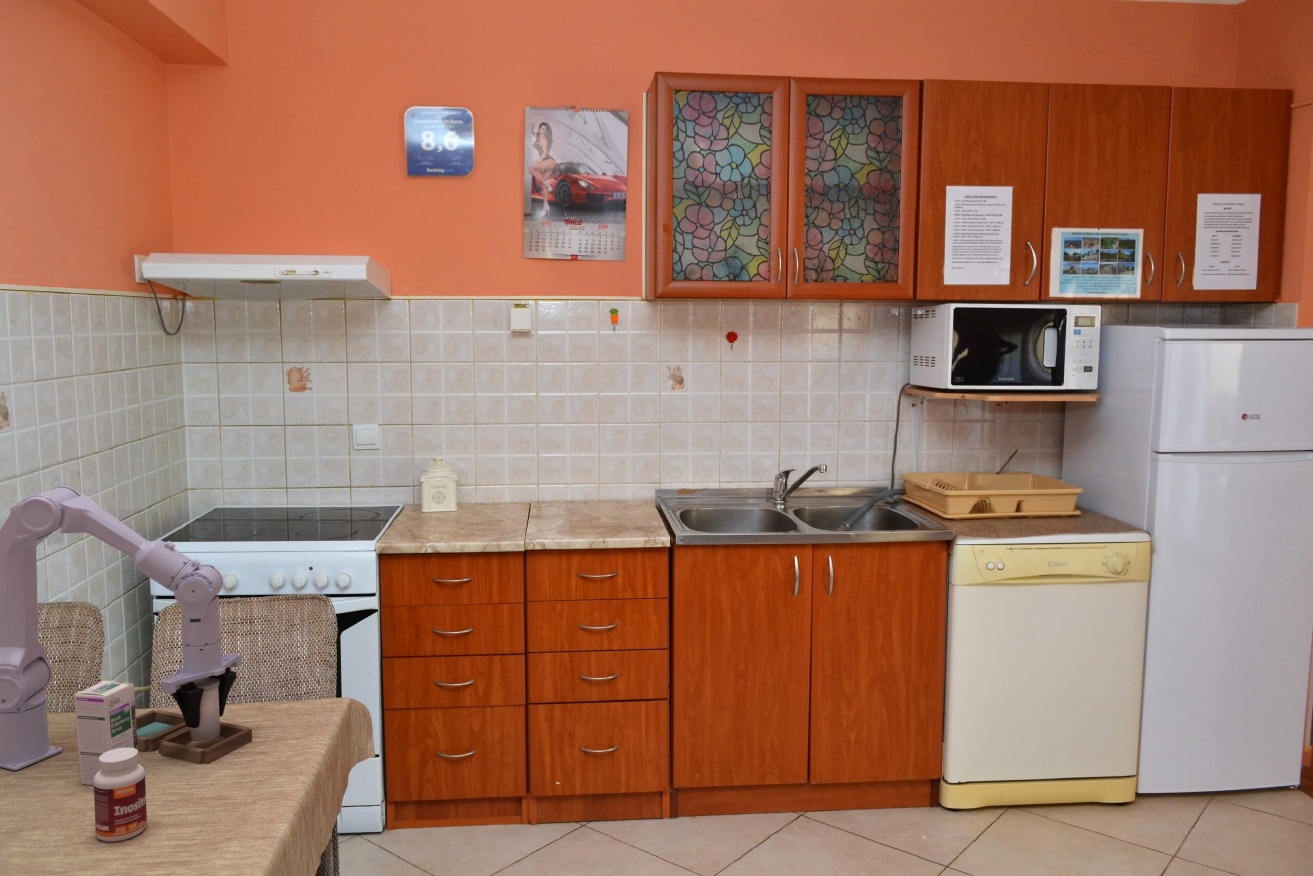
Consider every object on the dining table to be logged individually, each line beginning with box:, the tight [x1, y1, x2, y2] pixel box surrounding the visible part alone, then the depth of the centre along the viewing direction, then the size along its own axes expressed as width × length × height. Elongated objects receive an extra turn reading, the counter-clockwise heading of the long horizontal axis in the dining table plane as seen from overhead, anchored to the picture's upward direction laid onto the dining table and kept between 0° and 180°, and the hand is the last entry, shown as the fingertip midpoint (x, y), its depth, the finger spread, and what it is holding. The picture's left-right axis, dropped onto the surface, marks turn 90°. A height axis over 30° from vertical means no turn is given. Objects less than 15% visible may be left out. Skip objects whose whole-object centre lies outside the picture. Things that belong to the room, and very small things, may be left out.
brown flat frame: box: [136, 709, 253, 765], centre depth 160 cm, size 22×10×2 cm, turn 69°
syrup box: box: [73, 680, 140, 787], centre depth 146 cm, size 6×6×14 cm
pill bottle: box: [93, 748, 148, 843], centre depth 130 cm, size 6×6×11 cm
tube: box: [190, 677, 221, 742], centre depth 157 cm, size 5×5×9 cm
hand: (204, 721), depth 157 cm, fingers closed on tube, 4 cm apart
